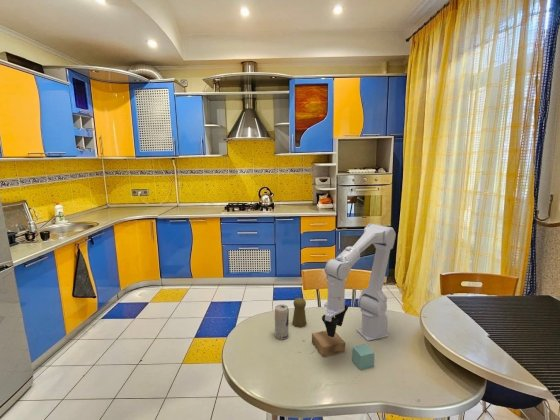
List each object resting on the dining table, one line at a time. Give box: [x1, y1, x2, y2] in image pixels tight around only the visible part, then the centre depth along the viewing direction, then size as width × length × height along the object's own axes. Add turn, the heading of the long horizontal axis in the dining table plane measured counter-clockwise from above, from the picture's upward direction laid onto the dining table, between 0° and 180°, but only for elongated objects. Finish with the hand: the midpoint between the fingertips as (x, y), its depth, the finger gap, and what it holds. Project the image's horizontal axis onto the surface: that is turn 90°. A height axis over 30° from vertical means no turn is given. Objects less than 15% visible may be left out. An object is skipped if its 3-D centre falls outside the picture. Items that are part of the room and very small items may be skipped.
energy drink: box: [274, 304, 290, 340], centre depth 118 cm, size 5×5×12 cm
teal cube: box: [351, 343, 375, 371], centre depth 103 cm, size 5×5×5 cm
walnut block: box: [311, 329, 346, 358], centre depth 112 cm, size 9×9×4 cm
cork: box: [291, 297, 308, 329], centre depth 127 cm, size 6×6×11 cm
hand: (334, 330), depth 106 cm, fingers open, 7 cm apart
